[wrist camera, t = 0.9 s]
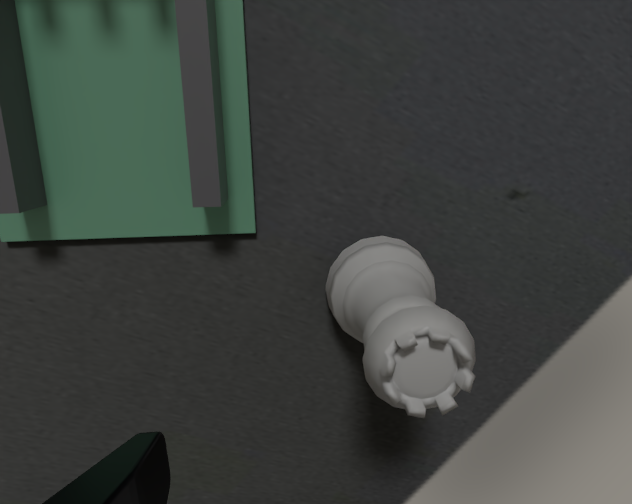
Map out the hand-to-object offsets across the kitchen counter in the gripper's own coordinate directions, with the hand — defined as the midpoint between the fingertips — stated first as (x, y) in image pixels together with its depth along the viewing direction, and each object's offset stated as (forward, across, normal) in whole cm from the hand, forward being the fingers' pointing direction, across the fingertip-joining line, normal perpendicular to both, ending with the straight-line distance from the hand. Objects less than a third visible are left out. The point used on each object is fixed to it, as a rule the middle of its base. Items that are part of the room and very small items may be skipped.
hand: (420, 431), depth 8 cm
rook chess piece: (+12, -1, +1) cm, 12 cm away
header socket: (+12, +8, -8) cm, 17 cm away
